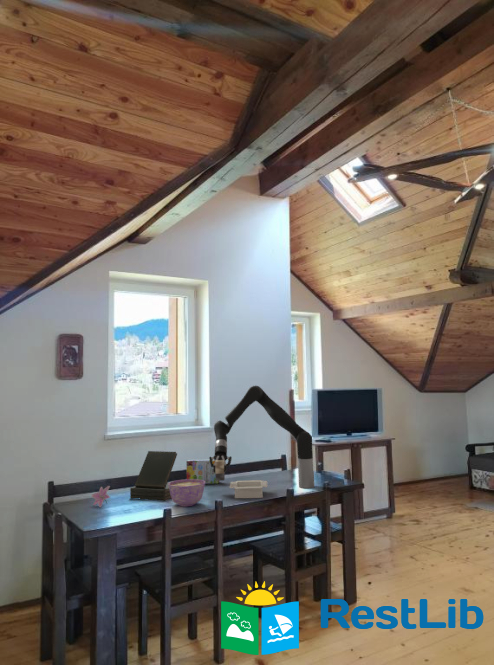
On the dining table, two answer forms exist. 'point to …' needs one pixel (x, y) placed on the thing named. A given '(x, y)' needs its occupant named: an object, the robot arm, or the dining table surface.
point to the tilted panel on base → (154, 476)
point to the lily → (100, 496)
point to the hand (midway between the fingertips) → (219, 472)
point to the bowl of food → (186, 491)
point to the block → (219, 470)
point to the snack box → (201, 471)
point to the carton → (248, 488)
